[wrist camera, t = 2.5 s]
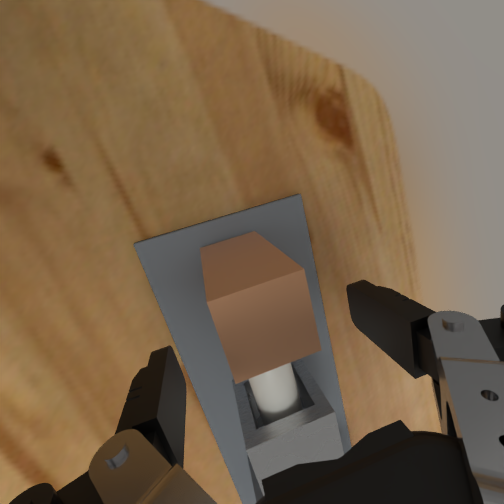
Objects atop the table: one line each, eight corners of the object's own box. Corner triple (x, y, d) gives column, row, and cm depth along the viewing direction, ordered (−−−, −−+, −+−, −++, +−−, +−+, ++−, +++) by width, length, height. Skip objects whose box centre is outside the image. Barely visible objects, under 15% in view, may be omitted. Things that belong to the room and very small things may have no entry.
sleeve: (231, 379, 22) (246, 450, 16) (298, 353, 22) (335, 411, 17) (247, 423, 23) (265, 501, 17) (309, 397, 24) (346, 464, 18)
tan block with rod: (199, 248, 18) (206, 302, 10) (254, 230, 19) (304, 268, 10) (261, 430, 23) (299, 562, 15) (303, 412, 24) (360, 531, 16)
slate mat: (134, 242, 18) (133, 244, 17) (298, 193, 19) (300, 194, 19) (246, 509, 26) (247, 515, 26) (352, 460, 28) (355, 465, 28)
